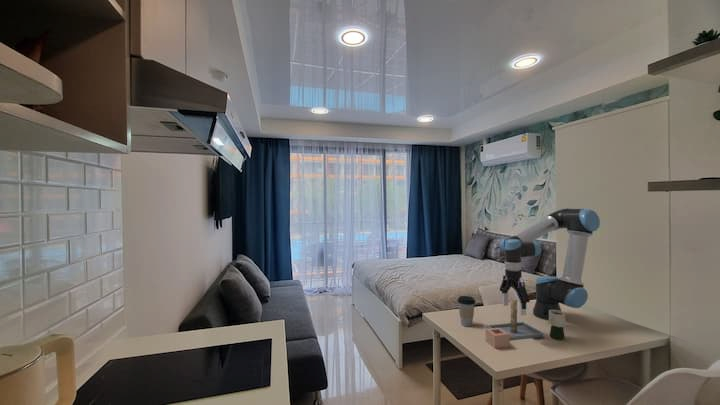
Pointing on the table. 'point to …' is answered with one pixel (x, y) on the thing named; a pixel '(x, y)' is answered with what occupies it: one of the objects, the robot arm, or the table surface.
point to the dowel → (513, 316)
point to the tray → (519, 330)
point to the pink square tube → (497, 338)
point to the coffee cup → (466, 310)
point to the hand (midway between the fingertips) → (514, 310)
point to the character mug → (557, 323)
